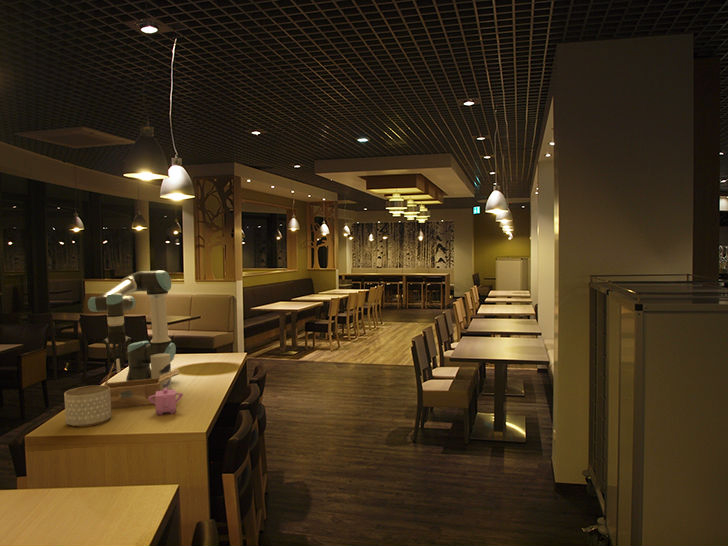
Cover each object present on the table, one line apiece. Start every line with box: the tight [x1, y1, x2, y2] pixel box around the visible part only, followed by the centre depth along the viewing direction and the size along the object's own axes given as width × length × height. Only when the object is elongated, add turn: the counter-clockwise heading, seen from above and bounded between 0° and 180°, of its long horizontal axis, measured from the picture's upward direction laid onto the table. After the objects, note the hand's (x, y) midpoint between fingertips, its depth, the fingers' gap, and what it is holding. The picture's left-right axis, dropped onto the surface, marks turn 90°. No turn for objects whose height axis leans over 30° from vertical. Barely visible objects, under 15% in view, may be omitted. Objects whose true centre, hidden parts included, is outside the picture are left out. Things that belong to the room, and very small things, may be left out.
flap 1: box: [103, 363, 115, 386], centre depth 287 cm, size 12×1×10 cm, turn 18°
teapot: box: [148, 388, 184, 416], centre depth 272 cm, size 15×13×11 cm
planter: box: [63, 384, 112, 427], centre depth 261 cm, size 19×19×14 cm
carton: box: [105, 378, 161, 410], centre depth 290 cm, size 16×26×10 cm, turn 108°
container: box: [150, 353, 173, 391], centre depth 312 cm, size 10×10×20 cm
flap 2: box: [159, 368, 180, 382], centre depth 296 cm, size 12×1×10 cm
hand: (118, 371), depth 288 cm, fingers closed
